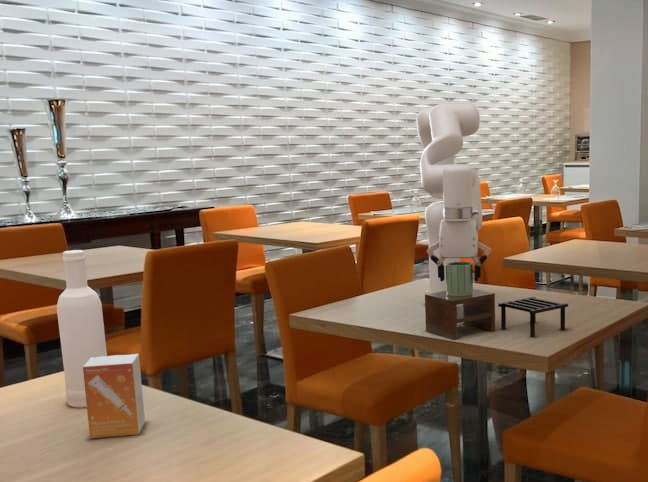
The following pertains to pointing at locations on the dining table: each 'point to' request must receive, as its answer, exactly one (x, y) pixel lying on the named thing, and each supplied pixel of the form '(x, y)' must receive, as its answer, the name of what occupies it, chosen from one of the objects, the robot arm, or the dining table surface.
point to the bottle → (79, 326)
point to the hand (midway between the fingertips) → (459, 280)
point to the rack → (532, 310)
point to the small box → (114, 395)
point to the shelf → (459, 312)
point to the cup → (459, 279)
